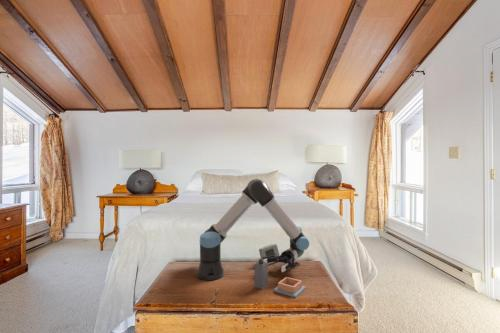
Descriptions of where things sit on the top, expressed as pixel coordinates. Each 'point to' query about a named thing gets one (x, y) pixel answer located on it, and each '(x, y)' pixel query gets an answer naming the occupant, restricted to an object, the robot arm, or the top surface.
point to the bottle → (261, 274)
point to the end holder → (290, 287)
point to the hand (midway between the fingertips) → (270, 267)
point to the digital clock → (269, 251)
